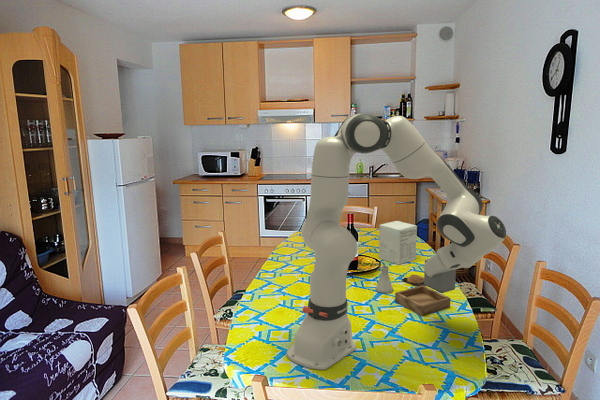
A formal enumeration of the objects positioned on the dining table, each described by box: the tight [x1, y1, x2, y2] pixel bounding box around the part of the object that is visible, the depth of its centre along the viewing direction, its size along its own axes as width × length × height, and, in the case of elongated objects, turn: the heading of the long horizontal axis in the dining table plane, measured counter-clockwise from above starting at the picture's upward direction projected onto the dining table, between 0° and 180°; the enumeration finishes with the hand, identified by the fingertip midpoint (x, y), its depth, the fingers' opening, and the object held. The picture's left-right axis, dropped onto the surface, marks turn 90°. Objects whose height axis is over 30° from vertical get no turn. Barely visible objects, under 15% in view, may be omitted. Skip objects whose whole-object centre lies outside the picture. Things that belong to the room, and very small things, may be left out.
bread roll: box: [401, 274, 426, 287], centre depth 172 cm, size 11×8×4 cm
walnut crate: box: [394, 285, 451, 317], centre depth 151 cm, size 14×14×4 cm
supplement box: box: [378, 220, 418, 265], centre depth 200 cm, size 13×13×18 cm
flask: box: [375, 265, 394, 294], centre depth 164 cm, size 7×7×10 cm
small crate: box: [423, 258, 457, 294], centre depth 135 cm, size 8×6×9 cm
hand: (438, 272), depth 136 cm, fingers closed on small crate, 6 cm apart
